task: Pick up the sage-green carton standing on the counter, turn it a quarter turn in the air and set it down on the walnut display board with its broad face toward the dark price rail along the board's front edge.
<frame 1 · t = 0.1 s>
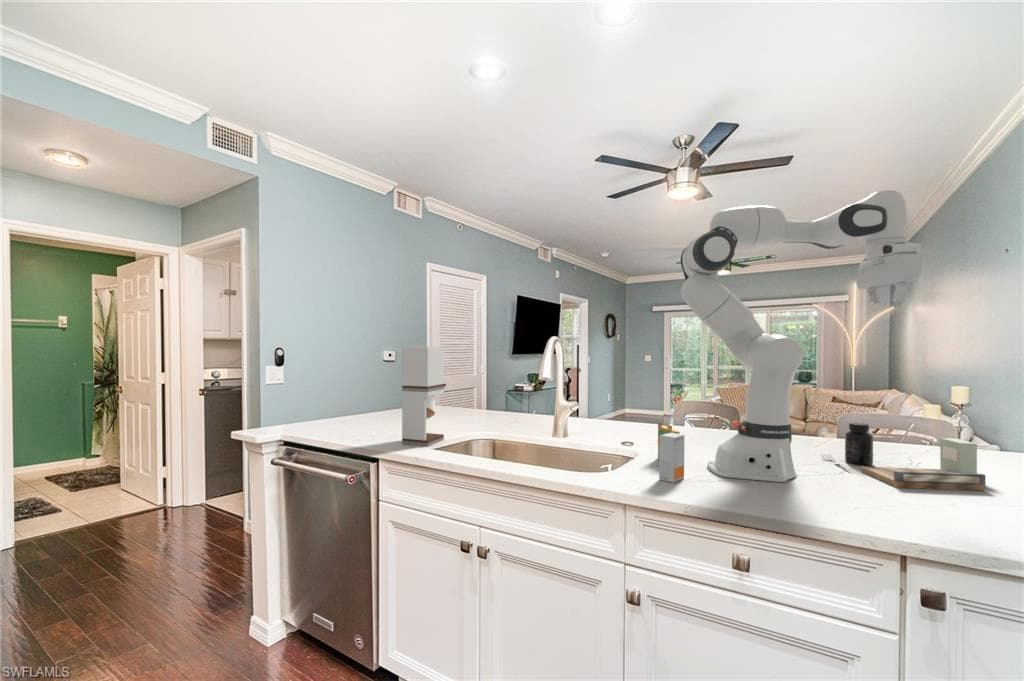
hand: (885, 302, 125), 48 cm above the worktop, tool pointing down, fingers open, 8 cm apart
shelf board: (919, 480, 121), on the worktop
carton: (958, 477, 124), on the worktop
supplement bottle: (858, 463, 139), on the worktop
skincare box: (671, 480, 123), on the worktop
crayon box: (668, 461, 141), on the worktop
fork: (844, 470, 133), on the worktop
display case: (423, 442, 168), on the worktop
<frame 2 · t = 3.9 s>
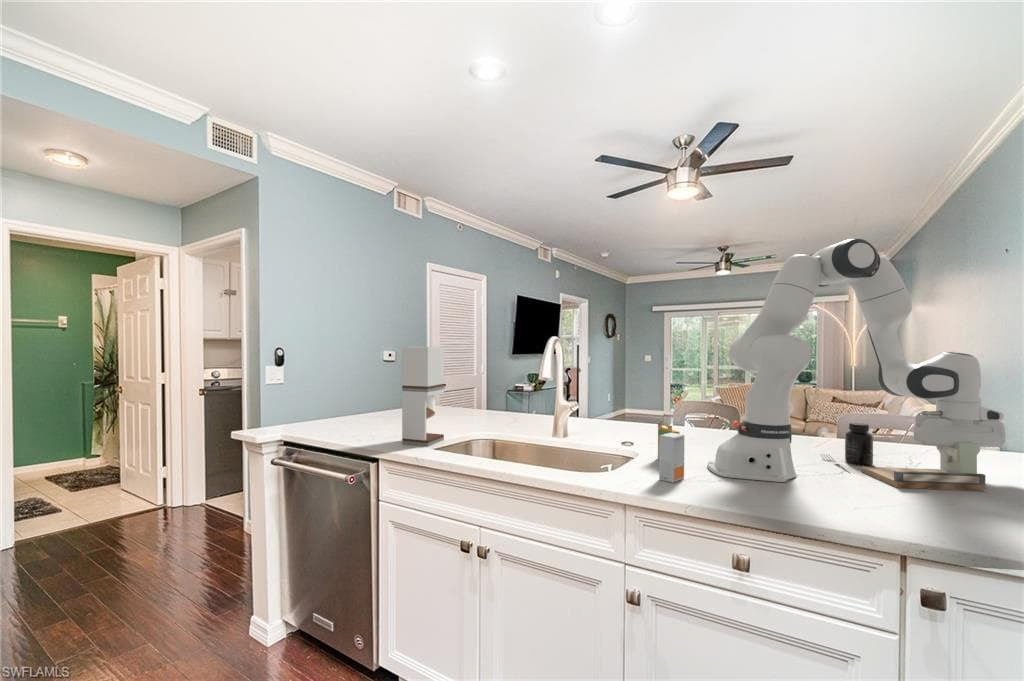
hand: (958, 462, 124), 4 cm above the worktop, tool pointing down, fingers closed on carton, 4 cm apart
carton: (958, 477, 124), on the worktop, touching gripper
everything else where it was.
when the fingers open (7 cm above the worktop, at t = 9.4 s): carton stays where it is, resting on shelf board.
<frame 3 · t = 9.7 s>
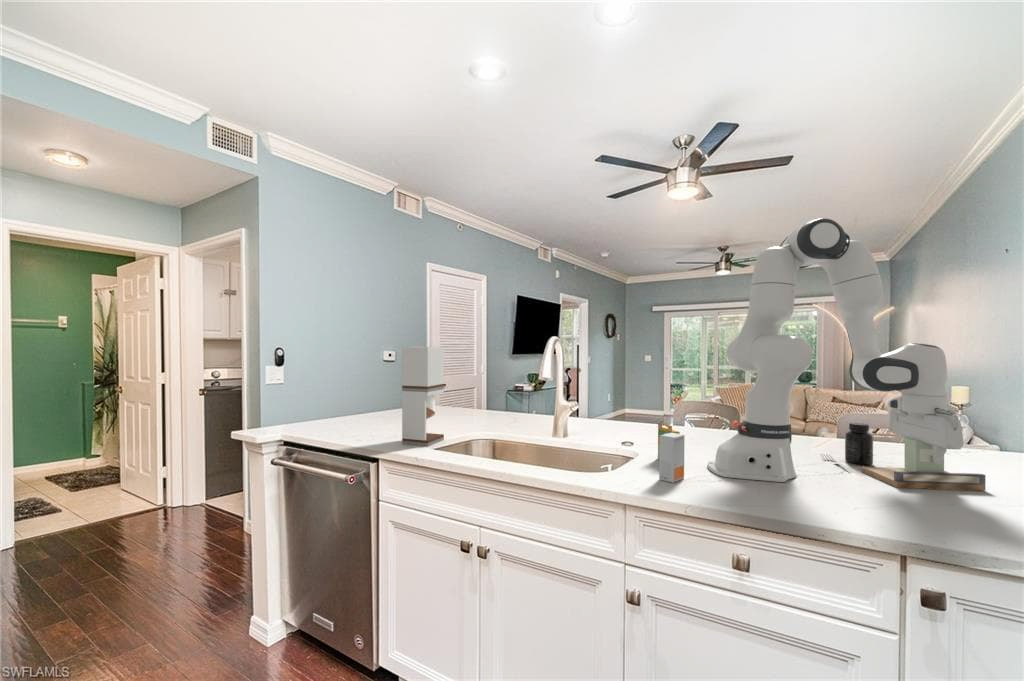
hand: (923, 458, 118), 7 cm above the worktop, tool pointing down, fingers open, 7 cm apart
carton: (923, 478, 118), point 1 cm above the worktop, touching shelf board
everything else where it was.
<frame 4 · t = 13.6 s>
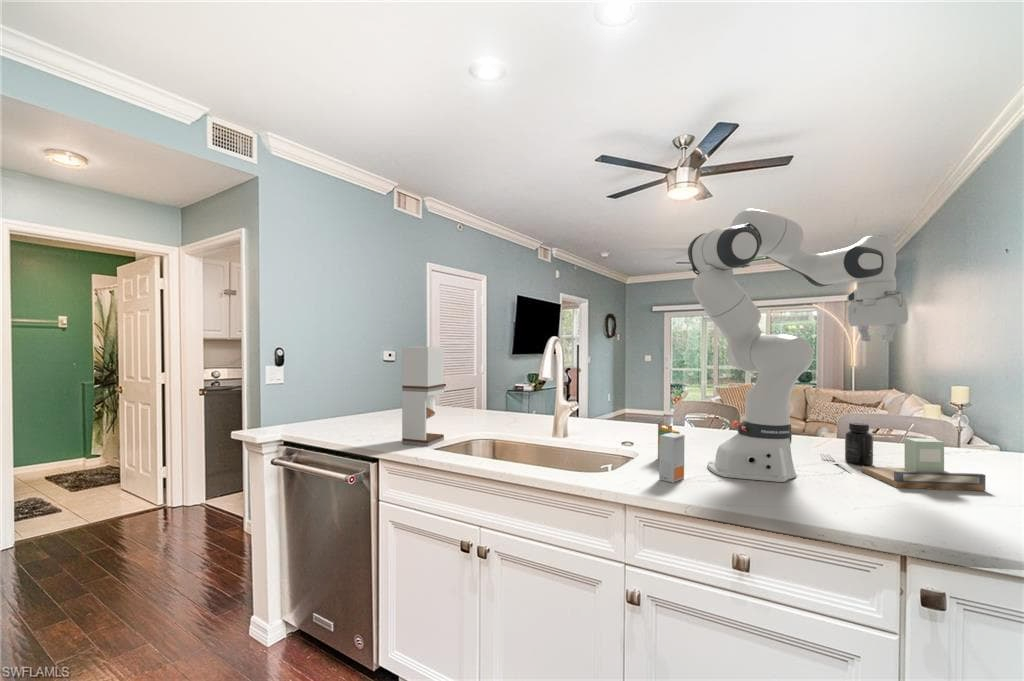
hand: (876, 341, 131), 37 cm above the worktop, tool pointing down, fingers open, 8 cm apart
nothing on the worktop moved.
at the end: carton inside the target area on the shelf board (0.0 cm from its centre), point 1.5 cm above the shelf board's base; carton tilted 0°; the gripper is holding nothing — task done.
